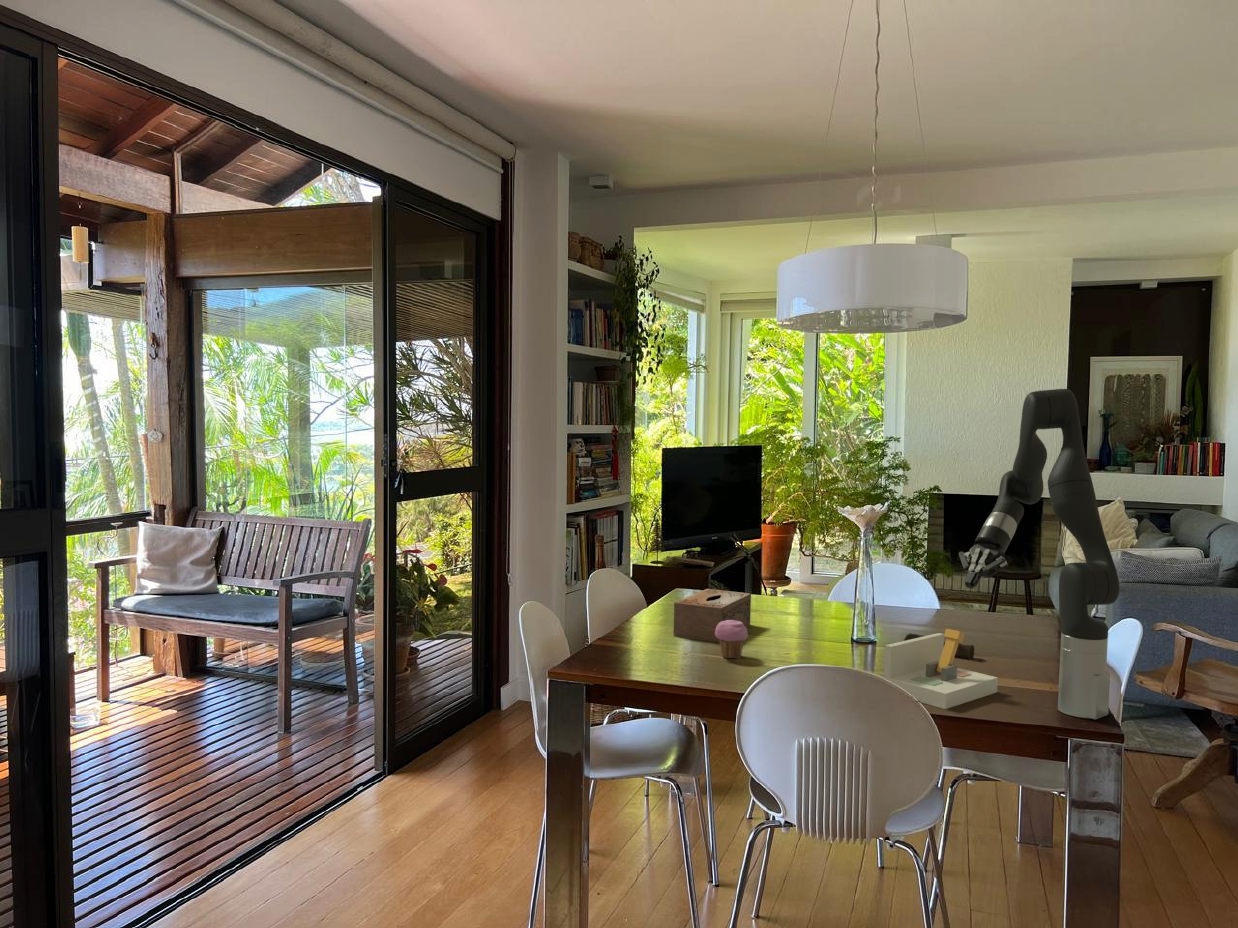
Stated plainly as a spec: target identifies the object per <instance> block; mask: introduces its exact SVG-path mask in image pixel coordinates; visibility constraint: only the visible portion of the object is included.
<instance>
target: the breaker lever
mask: <svg viewBox="0 0 1238 928" xmlns="http://www.w3.org/2000/svg"><path fill="white" fill-rule="evenodd" d="M943 634H944V638H945V641H944V642H945V645H944V648H943V651H942V654H941V658H940V661H939V664H938V667H937V670H936V671H937V672H938V673H941V668H942V667H946V666H950V665H953V663H954V660H955V657H956V656H955V654H956V650H957V647H958V644H961V643H963V642H964V638H965V636H966V634H965V633H963V632H961V630H957V629H951V628H946V629H945V631H944V633H943Z"/></svg>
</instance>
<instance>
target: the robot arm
mask: <svg viewBox="0 0 1238 928" xmlns="http://www.w3.org/2000/svg"><path fill="white" fill-rule="evenodd" d="M1052 429H1061V432H1062V433H1061V434H1062V446H1061V449H1060V452H1059V454H1058V456H1057V458H1056V461H1055V462H1054V465H1053V467H1052V468H1051V471H1050V473H1049V475H1048V479H1047V488H1048V489H1047V490H1048V493H1049V494H1048V495H1049V499H1050V503H1051V507H1052V510H1053V512H1054V515H1055V516H1056V517H1057V518H1058V520H1059V521H1060V522H1061V524H1062V525H1063V526H1064V527H1065V528H1066V529H1067V531H1068V532H1070V533H1071V534H1072V536H1073V537H1074V538H1075V540H1076V542H1078V544H1079V546H1080V547H1081V548H1080V549H1081V550H1082V552H1083V553H1082V554H1083V556H1084V559H1085V562H1069V563H1066V564H1065V565H1063V567H1062V569H1060V570H1061V571H1060V575H1059V577H1058V614H1059V615H1058V617H1059V621H1060V626H1061V627H1060V630H1061V631H1060V651H1059V653H1060V654H1059V669H1058V670H1059V672H1058V674H1059V675H1058V696H1057V710H1058V711H1059V712H1061V713H1062V714H1065V715H1068V716H1072V717H1076V718H1081V719H1082V718H1083V719H1092V720H1099V719H1101V718H1103V717H1106V716H1108V715H1109V709H1110V707H1109V706H1110V683H1111V673H1110V671H1107V662H1108V644H1109V643H1108V641H1109V627H1108V625H1107V624H1106V623H1105V622H1103V621H1100V620H1097V619H1095V618H1093V617H1091V616H1090V615H1089V608H1088V606H1093V605H1095V606H1099V605H1100V606H1101V605H1102V606H1105V605H1112V604H1114V603H1115V602H1116V600H1118V598H1119V595H1120V580H1119V575H1118V571H1117V568H1116V565H1115V562H1114V559H1113V556H1112V553H1111V549H1110V547H1109V544H1108V541H1107V539H1106V535H1105V532H1104V529H1103V525H1102V519H1101V517H1100V512H1099V508H1098V502H1097V497H1096V492H1095V487H1094V483H1093V480H1092V477H1091V476H1092V475H1091V473H1090V469H1089V468H1090V467H1089V465H1088V461H1087V457H1086V452H1085V446H1084V441H1083V433H1082V426H1081V421H1080V414H1079V406H1078V402H1077V398H1076V395H1075V394H1074V393H1073V392H1072V390H1071V389H1068V388H1055V389H1046V390H1045V389H1044V390H1036V391H1035V390H1034V391H1031V392H1028V393H1027V395H1026V397H1025V399H1024V401H1023V405H1022V410H1021V421H1020V429H1019V430H1020V431H1019V442H1018V443H1019V444H1018V449H1017V452H1016V456H1015V458H1014V461H1013V465H1012V470H1009V471H1006V472H1005V473H1004V474H1003V475H1002V477H1001V479H1000V481H999V482H1000V483H999V490H998V491H999V492H998V497H997V500H996V503H995V504H994V507H993V508H992V511H991V512H990V514H989V516H988V517H987V518H986V520H985V522H984V523H983V525H982V527H981V529H980V531H979V533H978V534H977V536H976V538H975V539H974V540H975V541H974V544H973V546H972V547H970V549H969V551H967V552H963V551H959V552H958V557H959V560H960V562H961V564H962V567H963V570H964V571H965V573H966V576H965V578H964V580H963V582H964V585H965V587H966V588H967V589H972V590H973V589H974V588H976V586H977V585H978V584H979V582H980V580H981V579H982V578H983V577H987V578H989V577H992V576H993V575H995V574H997V573H999V572H1000V571H1002V570H1004V569H1005V568H1007V567H1008V566H1009V563H1008V562H1007V560H1006V558H1005V557H1004V554H1005V553H1006V551H1007V549H1008V547H1009V545H1010V544H1011V541H1012V539H1013V537H1014V535H1015V533H1016V531H1017V527H1018V526H1019V523H1020V521H1021V520H1022V518H1023V516H1024V513H1025V509H1024V506H1023V504H1026V505H1034V504H1036V503H1038V502H1039V501H1040V500H1041V499H1042V496H1043V493H1044V480H1043V471H1044V468H1045V466H1046V463H1047V460H1048V450H1047V448H1046V445H1045V444H1044V443H1043V440H1041V439H1040V437H1039V435H1038V434H1037V431H1038V430H1052ZM1021 503H1023V504H1021ZM970 558H971V559H970ZM969 562H970V564H969Z"/></svg>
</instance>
